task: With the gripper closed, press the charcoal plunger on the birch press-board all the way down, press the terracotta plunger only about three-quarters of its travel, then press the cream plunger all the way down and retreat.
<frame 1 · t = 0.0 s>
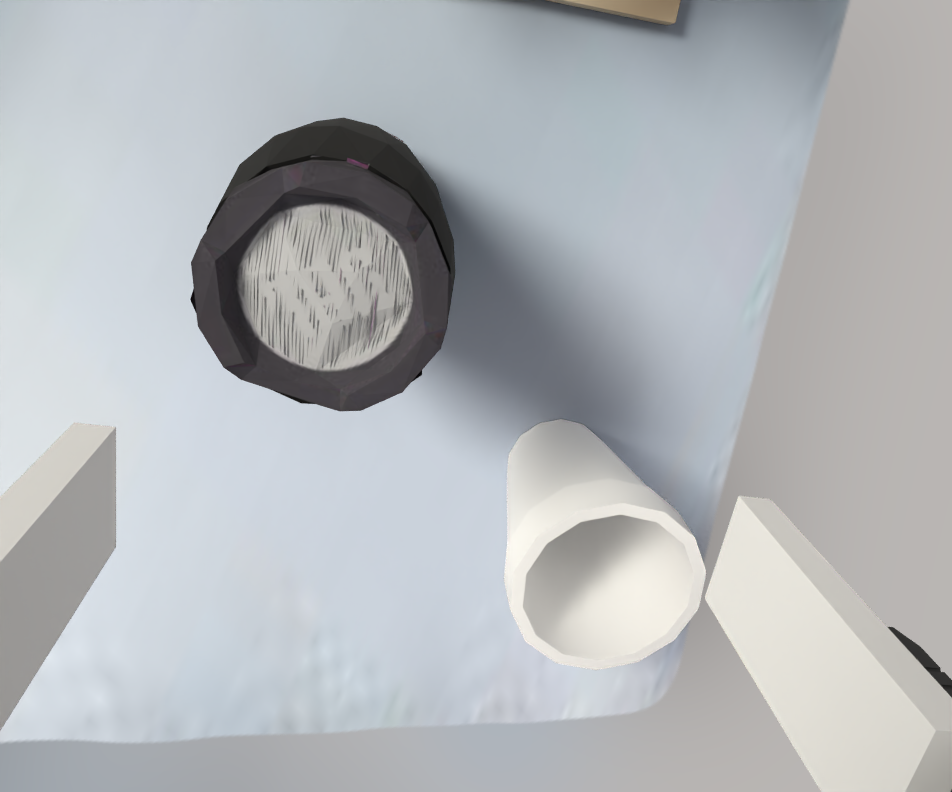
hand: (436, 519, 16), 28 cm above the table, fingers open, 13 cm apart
foam cup: (555, 463, 48), on the table
portable speaker: (358, 206, 41), on the table
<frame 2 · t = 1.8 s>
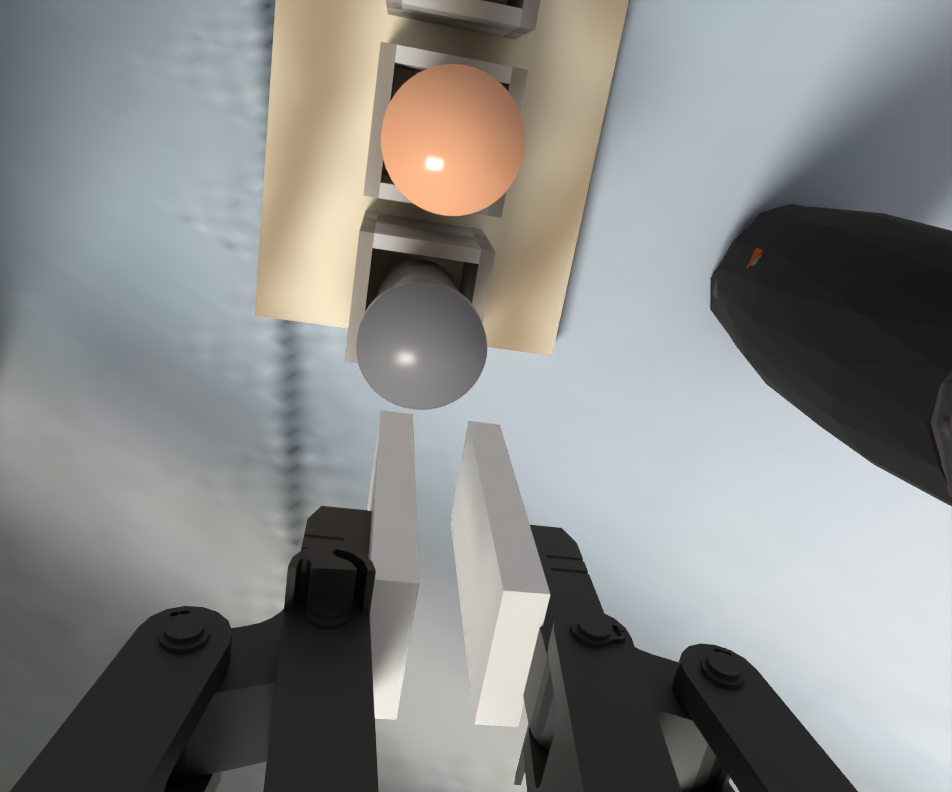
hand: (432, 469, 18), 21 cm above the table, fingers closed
plunger charcoal: (419, 322, 30), point 9 cm above the table, slide at 0.0 cm
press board: (436, 126, 35), on the table
plunger terracotta: (447, 136, 27), point 9 cm above the table, slide at 0.0 cm
portable speaker: (777, 277, 40), on the table
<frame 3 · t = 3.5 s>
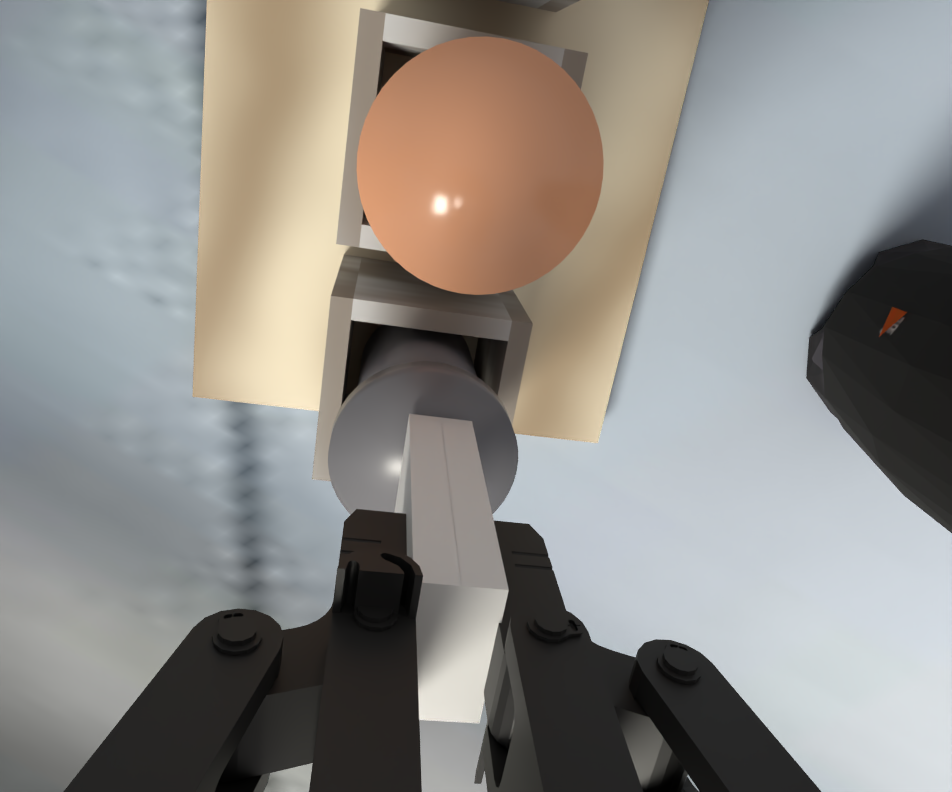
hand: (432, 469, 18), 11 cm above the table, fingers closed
plunger charcoal: (419, 407, 21), point 7 cm above the table, slide at 1.9 cm, touching gripper
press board: (442, 136, 25), on the table
plunger terracotta: (465, 158, 17), point 9 cm above the table, slide at 0.0 cm
portable speaker: (894, 335, 30), on the table
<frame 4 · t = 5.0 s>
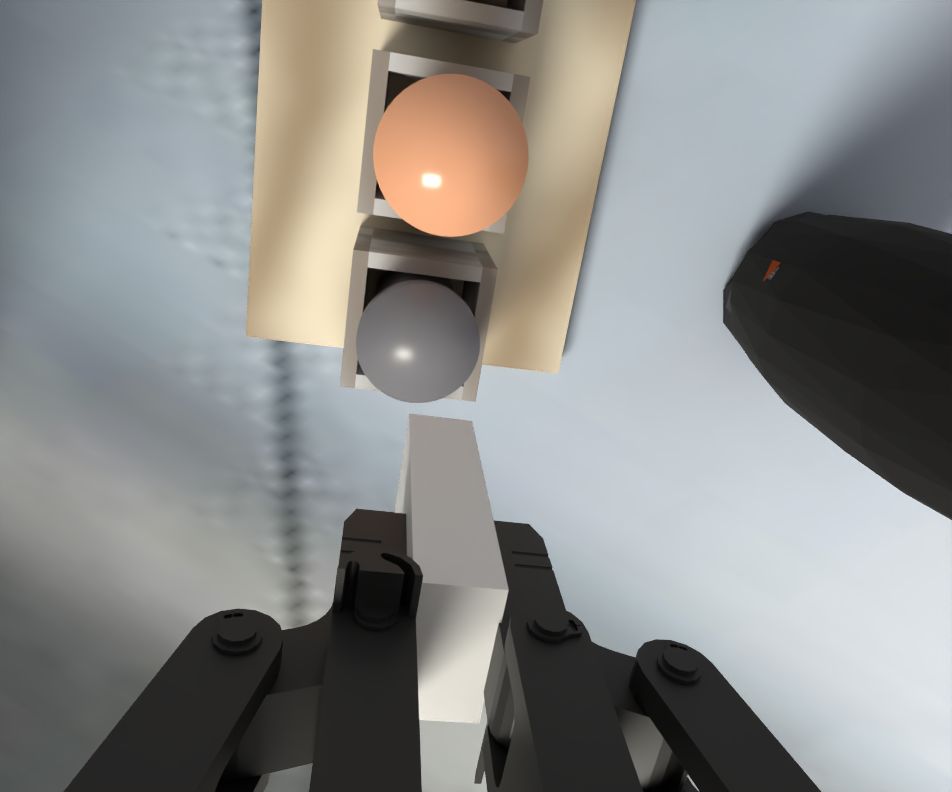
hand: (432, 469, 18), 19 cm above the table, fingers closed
plunger charcoal: (416, 320, 31), point 5 cm above the table, slide at 3.5 cm
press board: (434, 136, 34), on the table
plunger terracotta: (445, 150, 25), point 9 cm above the table, slide at 0.0 cm
portable speaker: (793, 288, 38), on the table
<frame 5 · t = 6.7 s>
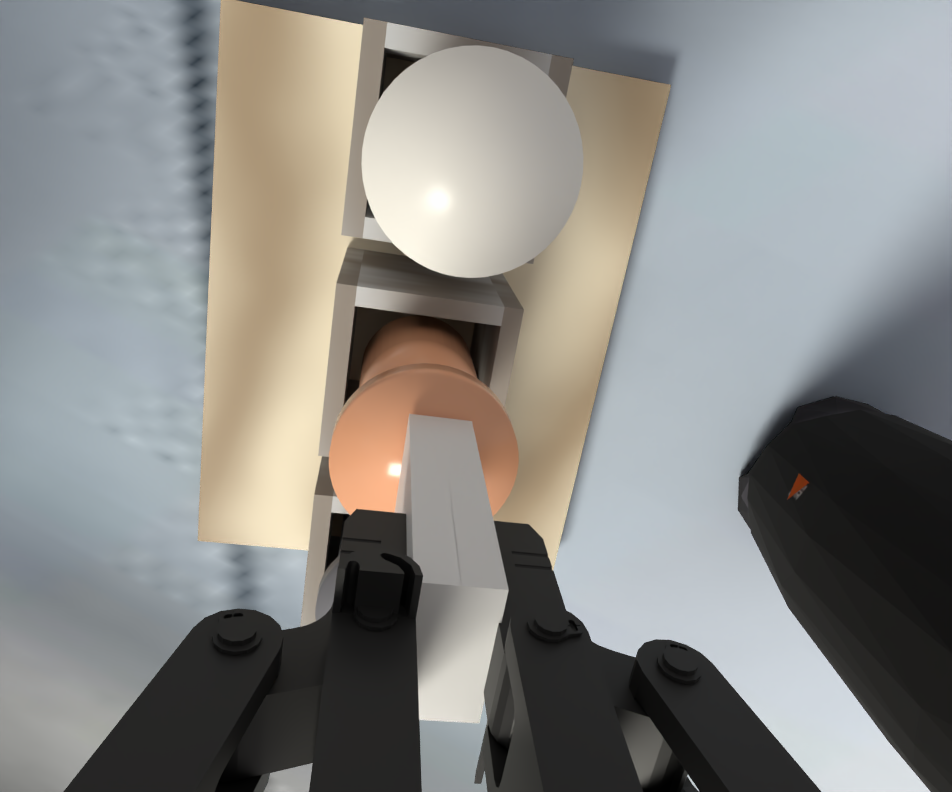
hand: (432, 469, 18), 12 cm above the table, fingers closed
plunger charcoal: (390, 553, 27), point 5 cm above the table, slide at 3.5 cm
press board: (413, 323, 29), on the table
plunger terracotta: (420, 409, 21), point 9 cm above the table, slide at 0.3 cm, touching gripper
portable speaker: (816, 472, 34), on the table
plunger cream: (460, 155, 19), point 9 cm above the table, slide at 0.0 cm
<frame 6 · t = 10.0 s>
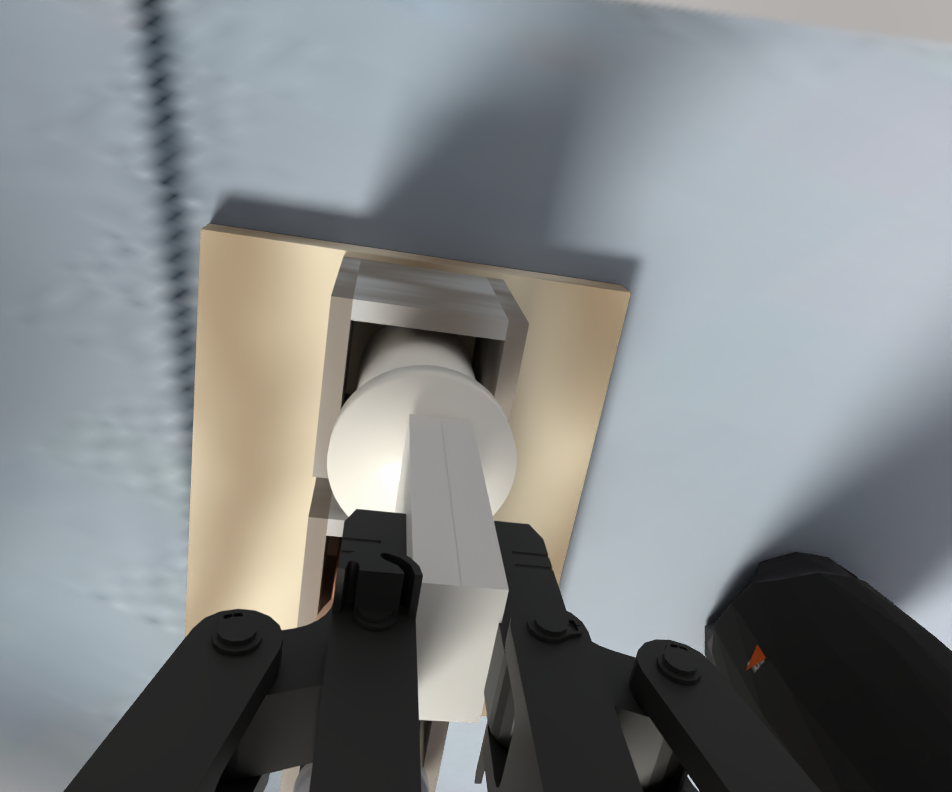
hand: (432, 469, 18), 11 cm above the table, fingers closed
plunger charcoal: (364, 732, 28), point 5 cm above the table, slide at 3.5 cm
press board: (389, 497, 31), on the table
plunger terracotta: (388, 590, 25), point 6 cm above the table, slide at 2.7 cm
portable speaker: (779, 618, 35), on the table
plunger cream: (418, 410, 21), point 7 cm above the table, slide at 1.6 cm, touching gripper
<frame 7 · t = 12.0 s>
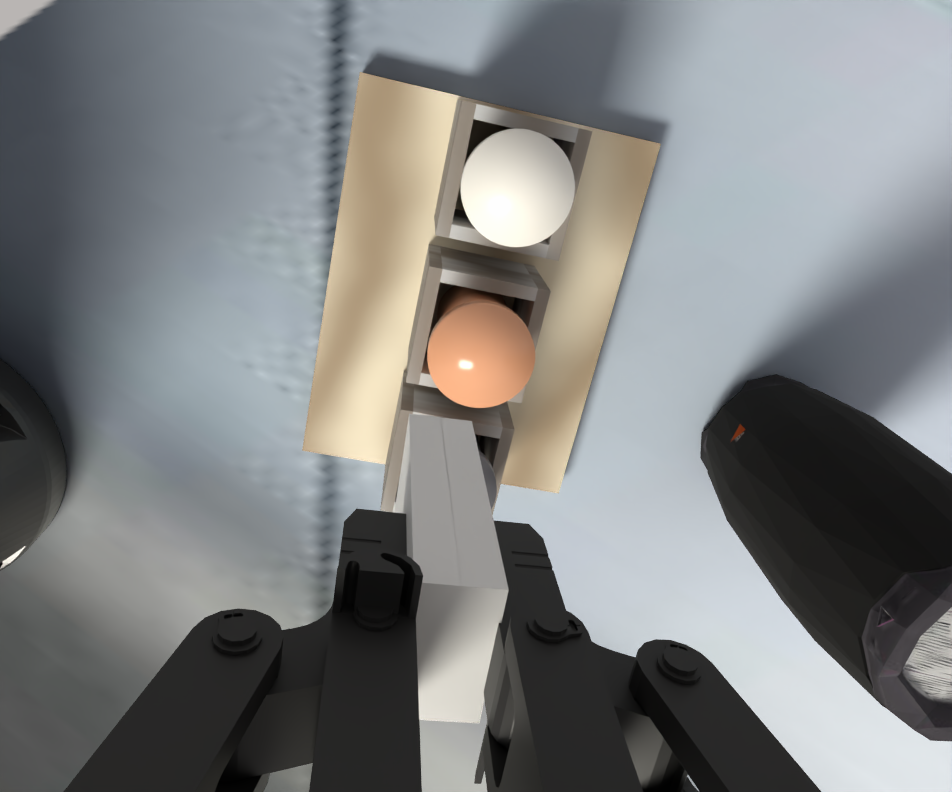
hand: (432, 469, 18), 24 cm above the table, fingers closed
plunger charcoal: (445, 459, 38), point 5 cm above the table, slide at 3.5 cm
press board: (469, 300, 41), on the table
plunger terracotta: (476, 334, 35), point 6 cm above the table, slide at 2.7 cm
portable speaker: (761, 433, 45), on the table
plunger cream: (509, 181, 33), point 5 cm above the table, slide at 3.5 cm
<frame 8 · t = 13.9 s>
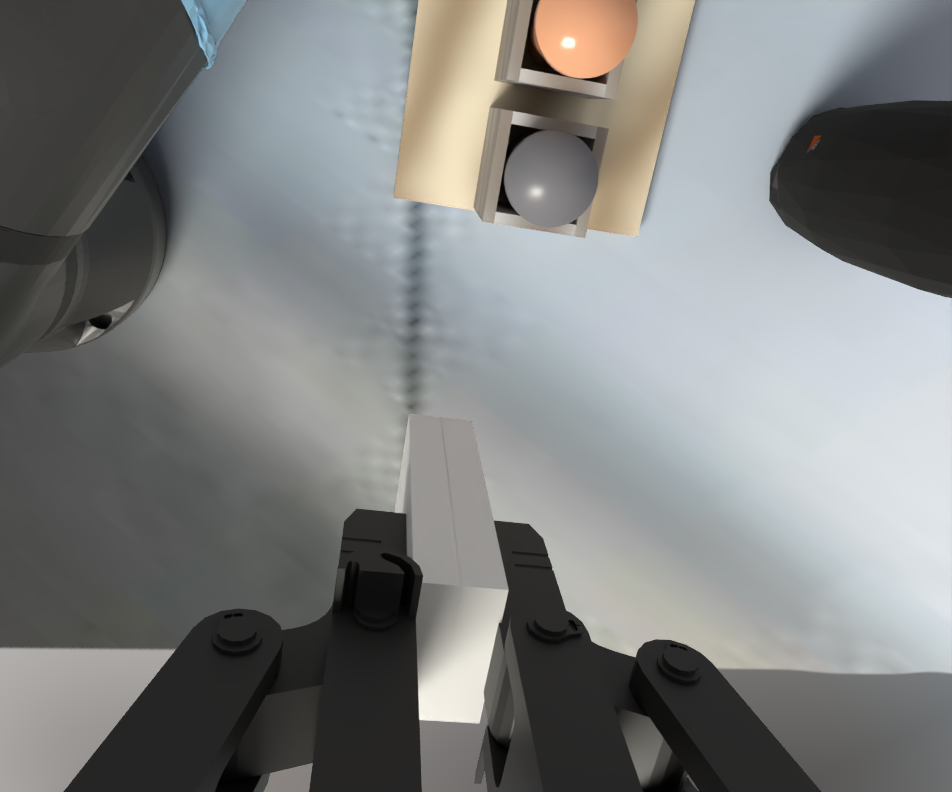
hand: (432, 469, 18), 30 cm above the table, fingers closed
plunger charcoal: (540, 173, 40), point 5 cm above the table, slide at 3.5 cm
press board: (548, 37, 43), on the table
plunger terracotta: (571, 28, 37), point 6 cm above the table, slide at 2.7 cm
portable speaker: (825, 173, 47), on the table
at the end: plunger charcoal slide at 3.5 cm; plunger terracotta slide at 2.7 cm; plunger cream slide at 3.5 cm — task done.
